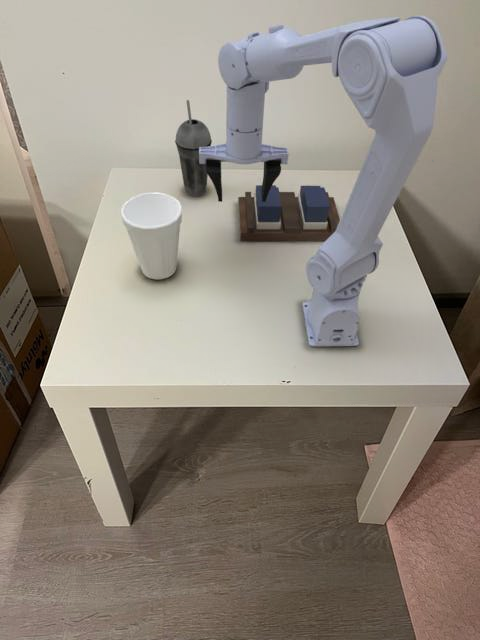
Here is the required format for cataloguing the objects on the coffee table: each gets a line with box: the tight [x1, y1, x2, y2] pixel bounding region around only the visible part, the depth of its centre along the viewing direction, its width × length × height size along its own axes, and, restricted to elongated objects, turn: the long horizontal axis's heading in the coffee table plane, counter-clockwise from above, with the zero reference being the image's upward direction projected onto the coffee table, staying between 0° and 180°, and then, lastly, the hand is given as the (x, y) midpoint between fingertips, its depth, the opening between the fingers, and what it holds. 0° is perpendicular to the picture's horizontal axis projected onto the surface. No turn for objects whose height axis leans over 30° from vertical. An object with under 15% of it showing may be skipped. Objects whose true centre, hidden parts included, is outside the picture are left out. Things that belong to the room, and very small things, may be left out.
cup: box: [120, 191, 183, 280], centre depth 83 cm, size 10×10×13 cm
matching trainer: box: [297, 185, 330, 229], centre depth 96 cm, size 10×5×5 cm, turn 2°
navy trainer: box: [253, 184, 281, 229], centre depth 95 cm, size 10×5×5 cm, turn 2°
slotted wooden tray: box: [237, 191, 341, 242], centre depth 97 cm, size 12×20×3 cm, turn 92°
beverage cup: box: [174, 99, 213, 198], centre depth 98 cm, size 7×7×20 cm
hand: (241, 198), depth 86 cm, fingers open, 7 cm apart
